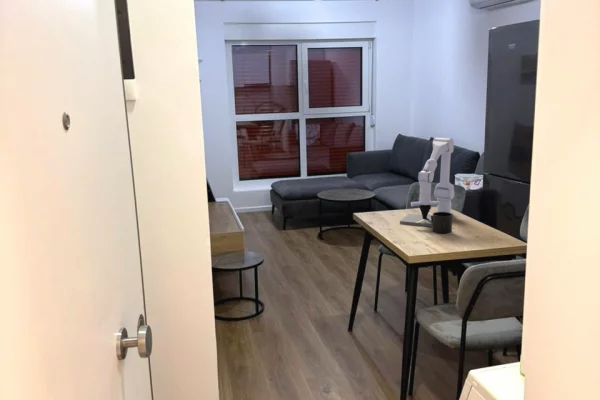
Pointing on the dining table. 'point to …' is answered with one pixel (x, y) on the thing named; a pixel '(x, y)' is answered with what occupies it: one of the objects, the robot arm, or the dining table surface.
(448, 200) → the robot arm
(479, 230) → the dining table surface
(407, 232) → the dining table surface
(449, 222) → the mug
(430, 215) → the bar
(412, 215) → the plate
